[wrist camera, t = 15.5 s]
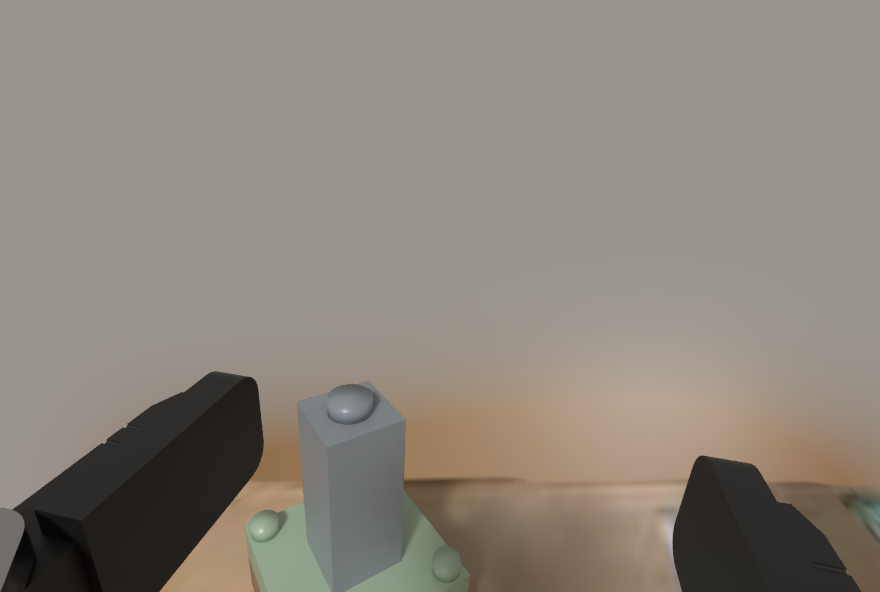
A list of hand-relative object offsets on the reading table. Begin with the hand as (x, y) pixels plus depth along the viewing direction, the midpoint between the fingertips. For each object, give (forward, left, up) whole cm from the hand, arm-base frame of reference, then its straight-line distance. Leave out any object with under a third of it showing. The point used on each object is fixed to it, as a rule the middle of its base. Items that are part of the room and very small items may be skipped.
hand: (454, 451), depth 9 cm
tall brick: (-6, -18, -24) cm, 30 cm away
